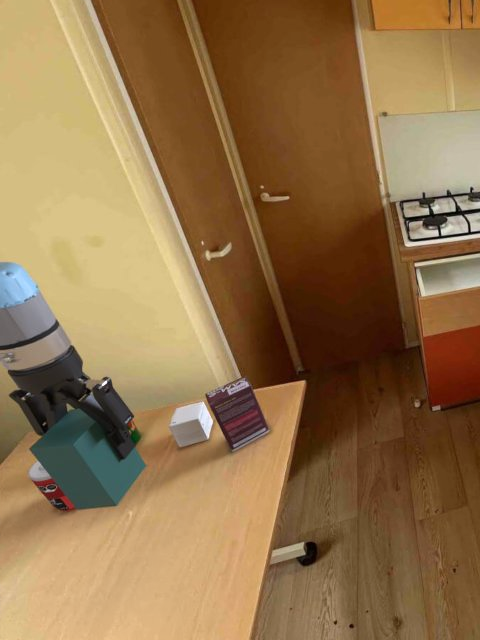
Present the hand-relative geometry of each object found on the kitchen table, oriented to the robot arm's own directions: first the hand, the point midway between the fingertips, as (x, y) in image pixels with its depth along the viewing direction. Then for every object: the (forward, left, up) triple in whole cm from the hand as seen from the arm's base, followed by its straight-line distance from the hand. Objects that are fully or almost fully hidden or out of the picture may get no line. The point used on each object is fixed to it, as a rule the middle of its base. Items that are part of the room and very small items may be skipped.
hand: (106, 454), depth 76 cm
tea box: (0, -2, +2) cm, 3 cm away
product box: (-2, +21, -20) cm, 29 cm away
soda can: (-17, +20, -20) cm, 33 cm away
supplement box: (+11, +19, -20) cm, 30 cm away
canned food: (-18, +7, -20) cm, 28 cm away
